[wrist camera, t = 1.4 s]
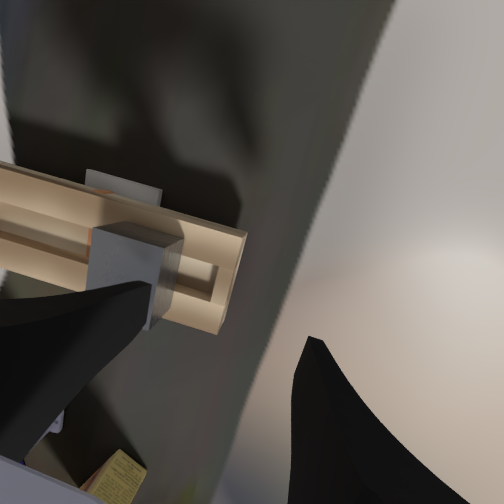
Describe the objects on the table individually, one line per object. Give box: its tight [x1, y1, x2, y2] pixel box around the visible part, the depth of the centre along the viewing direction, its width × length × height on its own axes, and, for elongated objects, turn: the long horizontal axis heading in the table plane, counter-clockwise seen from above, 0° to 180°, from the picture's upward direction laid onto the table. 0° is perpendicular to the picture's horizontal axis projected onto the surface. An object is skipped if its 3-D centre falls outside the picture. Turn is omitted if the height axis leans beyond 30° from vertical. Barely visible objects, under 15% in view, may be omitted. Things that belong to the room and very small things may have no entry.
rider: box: [85, 221, 185, 331], centre depth 17 cm, size 5×4×4 cm
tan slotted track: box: [0, 161, 248, 335], centre depth 20 cm, size 9×21×4 cm, turn 75°
